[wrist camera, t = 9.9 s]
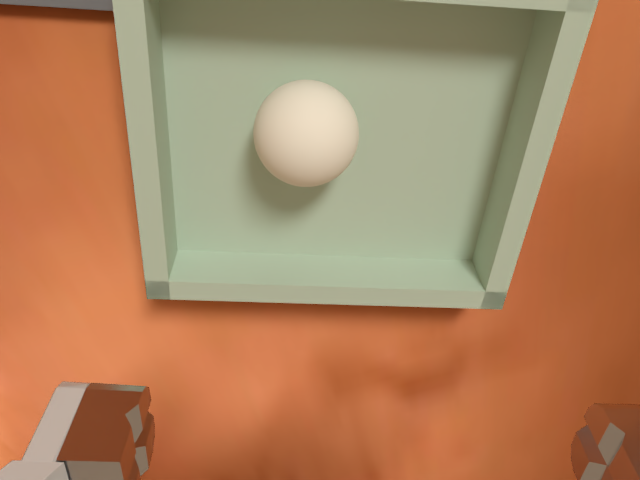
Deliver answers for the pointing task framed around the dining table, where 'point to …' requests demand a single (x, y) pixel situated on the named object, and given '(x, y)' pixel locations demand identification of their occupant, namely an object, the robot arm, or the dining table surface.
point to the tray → (372, 151)
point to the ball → (306, 133)
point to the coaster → (65, 3)
